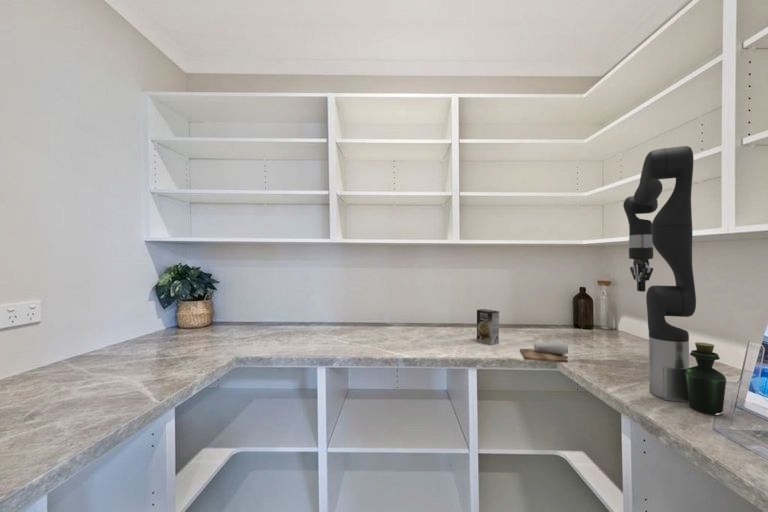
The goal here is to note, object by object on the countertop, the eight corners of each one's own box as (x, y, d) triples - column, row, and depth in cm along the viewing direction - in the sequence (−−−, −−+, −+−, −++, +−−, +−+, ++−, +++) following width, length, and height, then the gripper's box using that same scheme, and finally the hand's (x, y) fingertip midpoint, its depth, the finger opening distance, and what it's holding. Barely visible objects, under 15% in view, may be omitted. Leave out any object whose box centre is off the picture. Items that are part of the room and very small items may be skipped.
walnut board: (558, 352, 145) (558, 351, 145) (567, 362, 132) (567, 360, 132) (519, 350, 149) (519, 348, 149) (524, 359, 136) (524, 357, 136)
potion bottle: (681, 408, 90) (680, 343, 91) (689, 401, 95) (688, 339, 95) (723, 420, 84) (722, 349, 84) (730, 411, 88) (728, 345, 89)
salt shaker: (567, 351, 135) (533, 349, 141) (568, 357, 138) (535, 355, 145) (566, 338, 138) (533, 337, 145) (567, 345, 142) (535, 343, 148)
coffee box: (476, 341, 165) (476, 309, 165) (484, 339, 169) (483, 308, 169) (491, 345, 158) (491, 312, 158) (499, 343, 162) (499, 310, 162)
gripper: (622, 247, 135) (622, 289, 134) (637, 246, 122) (638, 292, 122) (643, 247, 133) (643, 290, 132) (661, 246, 120) (662, 293, 120)
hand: (641, 291), depth 127 cm, fingers closed
